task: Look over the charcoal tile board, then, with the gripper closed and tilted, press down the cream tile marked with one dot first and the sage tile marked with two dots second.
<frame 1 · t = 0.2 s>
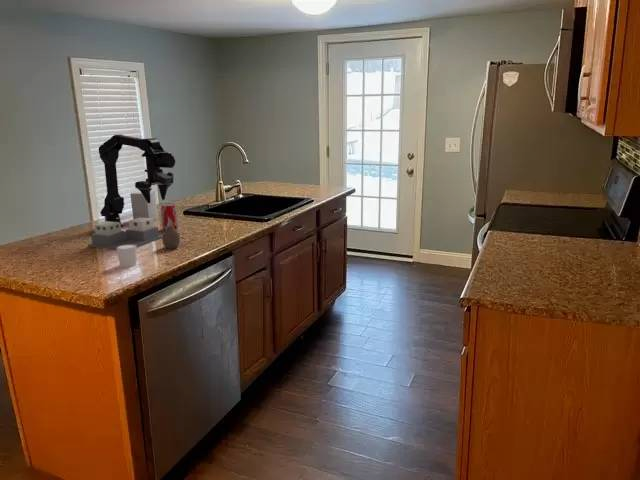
hand: (156, 201, 224), 14 cm above the worktop, tool pointing down, fingers open, 9 cm apart
tile board: (126, 242, 211), on the worktop
soda can: (170, 229, 233), on the worktop
supplement box: (145, 221, 252), on the worktop
sage tile: (108, 230, 206), point 6 cm above the worktop, slide at 0.0 cm
shot glass: (128, 265, 180), on the worktop
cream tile: (141, 225, 213), point 6 cm above the worktop, slide at 0.0 cm
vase: (172, 248, 203), on the worktop
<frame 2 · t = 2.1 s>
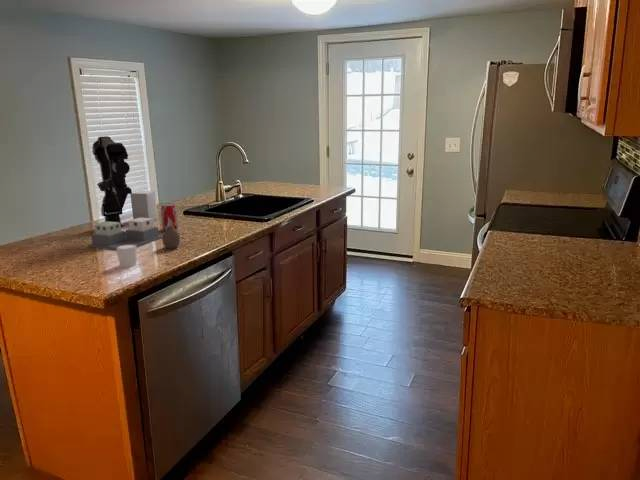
hand: (121, 207, 218), 13 cm above the worktop, tool pointing down, fingers closed
nothing on the worktop moved.
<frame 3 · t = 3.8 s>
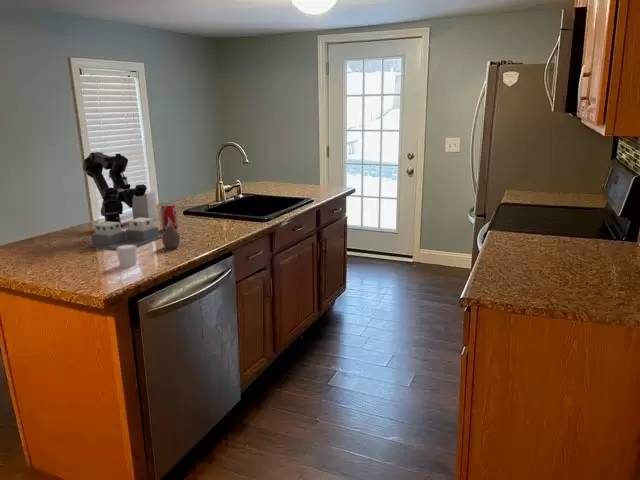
hand: (131, 207, 217), 13 cm above the worktop, tool tilted 45°, fingers closed
nothing on the worktop moved.
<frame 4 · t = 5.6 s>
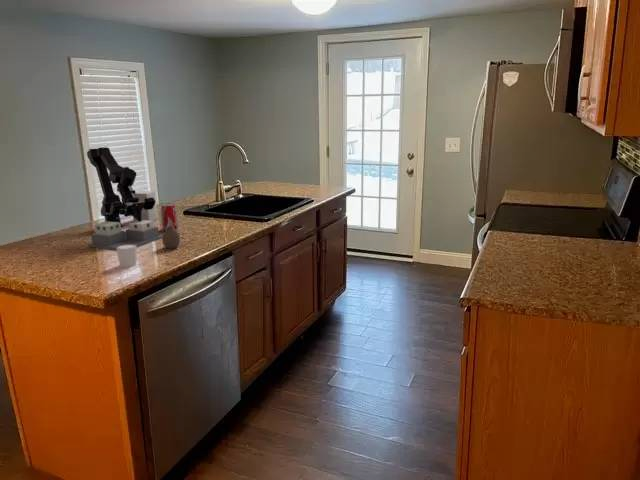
hand: (140, 221, 213), 8 cm above the worktop, tool tilted 45°, fingers closed, pressing on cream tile
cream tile: (141, 228, 214), point 5 cm above the worktop, slide at 1.1 cm, touching gripper
everything else where it was.
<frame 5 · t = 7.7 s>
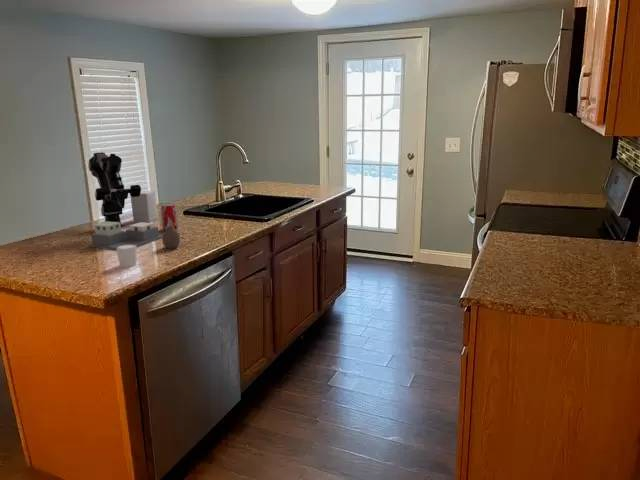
hand: (123, 207, 215), 14 cm above the worktop, tool tilted 45°, fingers closed
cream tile: (142, 230, 214), point 4 cm above the worktop, slide at 2.1 cm
everything else where it was.
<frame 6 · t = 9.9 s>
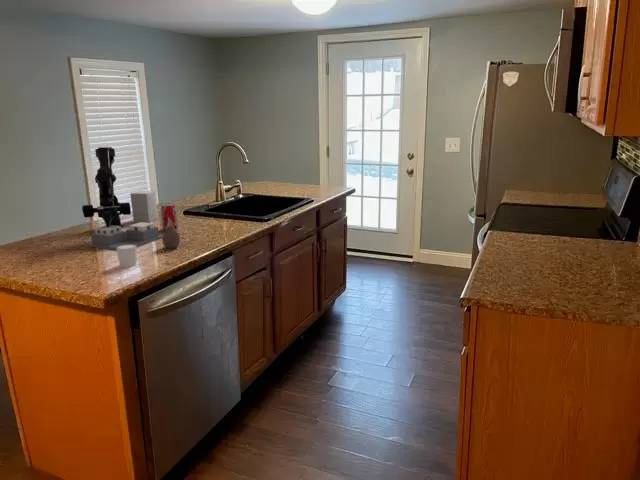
hand: (107, 226, 206), 8 cm above the worktop, tool tilted 45°, fingers closed
sage tile: (108, 233, 207), point 5 cm above the worktop, slide at 1.6 cm, touching gripper
everything else where it was.
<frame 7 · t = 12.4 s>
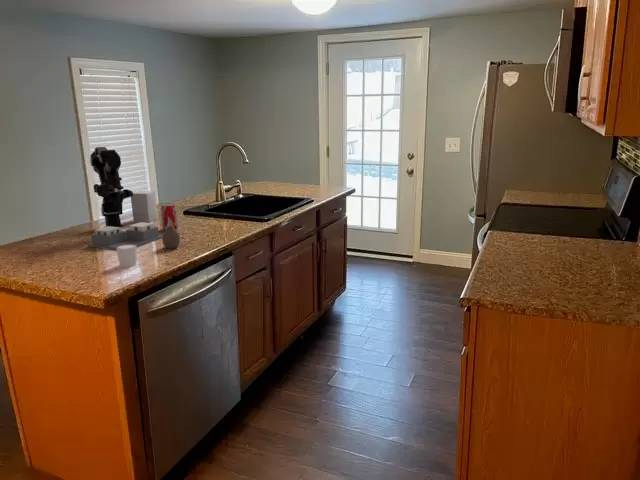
hand: (118, 209, 219), 12 cm above the worktop, tool tilted 25°, fingers closed
sage tile: (108, 235, 207), point 4 cm above the worktop, slide at 2.1 cm
everything else where it was.
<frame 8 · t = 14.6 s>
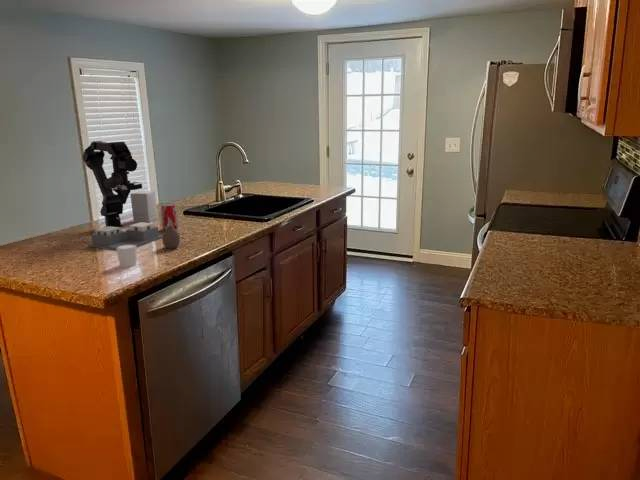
hand: (123, 203, 227), 13 cm above the worktop, tool pointing down, fingers closed
nothing on the worktop moved.
at the end: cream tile slide at 2.1 cm; sage tile slide at 2.1 cm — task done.
